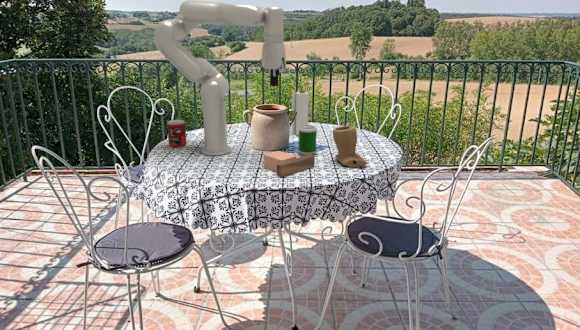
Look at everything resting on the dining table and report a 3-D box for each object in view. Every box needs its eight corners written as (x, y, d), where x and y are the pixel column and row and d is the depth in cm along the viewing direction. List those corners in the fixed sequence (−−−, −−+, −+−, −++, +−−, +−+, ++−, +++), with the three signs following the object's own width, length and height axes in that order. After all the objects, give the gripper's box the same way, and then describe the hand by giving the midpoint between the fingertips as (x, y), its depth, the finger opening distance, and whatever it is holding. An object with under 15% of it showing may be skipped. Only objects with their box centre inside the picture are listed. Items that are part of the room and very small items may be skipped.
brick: (264, 168, 174) (263, 154, 172) (278, 163, 180) (278, 150, 178) (282, 174, 168) (282, 160, 166) (296, 169, 173) (296, 155, 171)
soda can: (314, 156, 188) (315, 129, 184) (297, 155, 190) (297, 128, 186) (317, 151, 195) (317, 125, 191) (300, 150, 197) (300, 124, 193)
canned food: (165, 146, 202) (163, 122, 198) (176, 142, 209) (174, 119, 205) (179, 148, 199) (177, 124, 195) (189, 143, 206) (188, 120, 202)
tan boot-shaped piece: (328, 157, 187) (330, 123, 182) (356, 156, 189) (358, 122, 184) (338, 169, 173) (339, 132, 168) (367, 168, 174) (369, 131, 170)
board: (276, 175, 166) (276, 164, 164) (308, 164, 178) (308, 154, 177) (282, 177, 164) (282, 166, 162) (314, 166, 176) (314, 155, 175)
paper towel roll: (310, 134, 224) (310, 91, 217) (303, 136, 219) (304, 93, 212) (297, 132, 227) (298, 90, 221) (291, 134, 223) (291, 92, 216)
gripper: (254, 39, 179) (255, 85, 185) (280, 40, 169) (280, 89, 175) (268, 38, 184) (268, 83, 190) (294, 40, 175) (293, 87, 180)
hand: (274, 85), depth 183 cm, fingers closed
